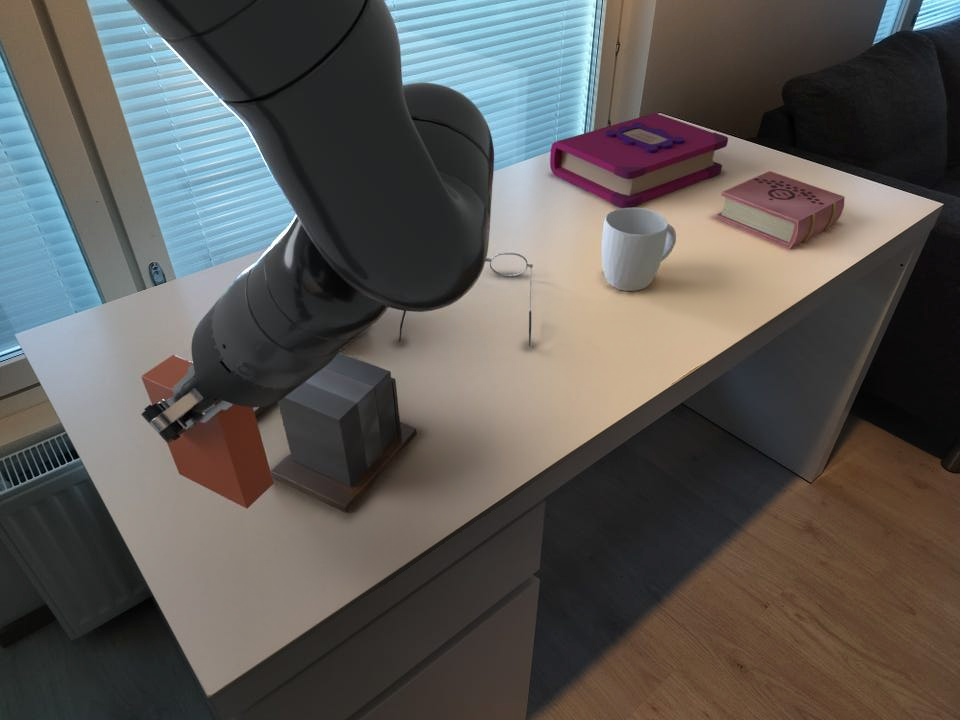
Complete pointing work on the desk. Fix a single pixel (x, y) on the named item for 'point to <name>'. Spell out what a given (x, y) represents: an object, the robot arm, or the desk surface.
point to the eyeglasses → (502, 275)
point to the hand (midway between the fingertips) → (188, 411)
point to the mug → (634, 247)
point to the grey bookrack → (341, 431)
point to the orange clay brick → (215, 442)
